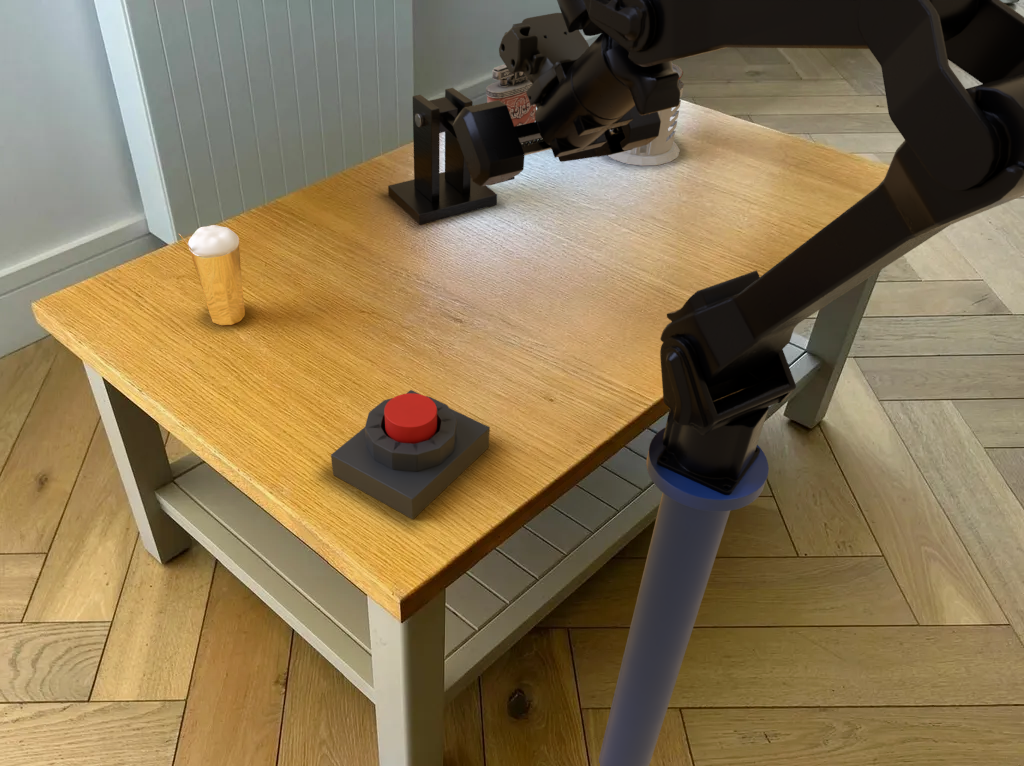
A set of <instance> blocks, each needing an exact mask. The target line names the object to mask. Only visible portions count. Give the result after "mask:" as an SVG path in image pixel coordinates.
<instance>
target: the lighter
mask: <svg viewBox="0 0 1024 766" xmlns="http://www.w3.org/2000/svg"><path fill="white" fill-rule="evenodd" d="M491 77H492V79H493V80H495V81H494V82H492V83H490V84H488V85H487V86H485V87H486V88H485V95H486V96H487V97H486V99H487V100H486V103H487V102H492V101H497V100H499V101H501V102H502V103H504V104H506V105H507V107H508V110H509V113H510V116H511V119H512V121H513V124H514V127H515V126H519V125H523V124H528V123H532V122H535V111H536V110H537V107H536V105H531V104H530V102H529V99H528V96H527V93H526V91H527V90H528V89H529V88H530V87H531V85H532V84H533V83H531V82H530V80H529V79H528V78H527V76H526V75H525V73H524V72H518V73H513V74H512V73H511V72H510V71H509V70H508V68H507V66H506V65H505V63H504V64H501V65H498V66H495V67H493V69H492V76H491ZM521 144H523V143H521Z"/></svg>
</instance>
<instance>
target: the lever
mask: <svg viewBox="0 0 1024 766" xmlns="http://www.w3.org/2000/svg"><path fill="white" fill-rule="evenodd" d="M429 101H430V102H431V103H433V104H434V105H435V106H437V107H438V108H439V134H442V133H445V132H447V131H449V132H450V133H451V134H452V135H453V136H454V137H455V138H456V139H457V136H456V134H455V131H454V128H453V123H454V121H455V119H456V117H457V115H458V108H457V107H456V106H455V105H454V104H453V103H451V102H450V101H449V100H448V99H447V98H446V97H445V96H443V97H440V98H434V99H429ZM457 140H458V139H457Z"/></svg>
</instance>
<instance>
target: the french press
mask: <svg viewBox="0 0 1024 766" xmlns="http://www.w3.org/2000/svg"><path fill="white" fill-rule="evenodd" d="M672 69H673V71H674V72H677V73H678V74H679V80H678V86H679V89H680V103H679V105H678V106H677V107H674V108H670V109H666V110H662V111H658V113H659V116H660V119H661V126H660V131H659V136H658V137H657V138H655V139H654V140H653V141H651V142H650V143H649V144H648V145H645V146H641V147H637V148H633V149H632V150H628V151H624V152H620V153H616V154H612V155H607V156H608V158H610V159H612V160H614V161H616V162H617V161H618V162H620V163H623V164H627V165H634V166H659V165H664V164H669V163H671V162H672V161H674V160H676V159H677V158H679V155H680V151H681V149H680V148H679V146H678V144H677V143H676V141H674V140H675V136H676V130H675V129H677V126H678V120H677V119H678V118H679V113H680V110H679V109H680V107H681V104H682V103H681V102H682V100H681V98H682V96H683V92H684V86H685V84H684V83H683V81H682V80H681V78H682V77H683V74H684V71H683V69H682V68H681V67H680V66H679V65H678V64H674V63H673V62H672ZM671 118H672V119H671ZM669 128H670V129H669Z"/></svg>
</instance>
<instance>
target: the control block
mask: <svg viewBox="0 0 1024 766" xmlns="http://www.w3.org/2000/svg"><path fill="white" fill-rule="evenodd" d="M408 393H414V394H420V393H419V392H417V391H415V390H412V389H410V390H408V391H407V392H406V393H405V394H408ZM425 396H426V397H428V398H430V399H431V400H432V401H433V402H434V403H435V405H436V407H437V430H436V432H435V434H434V435H433V436H432V437H431V438H430V439H428V440H426V441H423V442H419V443H416V444H411V443H400V442H397V441H395V440H393V439H392V438H390V437H389V436H388V434H387V433H386V430H385V414H384V409H385V406H386V404H387V403H388V402H389V401H390V400H391V399H392V398H393V397H390V398H388V399H387V398H386V399H384V400H382V401H381V402H380V403H379V404H377V405H376V406H375V407H373V408H372V409H371V410H370V411H369V412H368V415H367V418H366V422H365V426H364V427H362V429H361V430H359V431H358V432H357V433H355V435H353V436H352V437H351V438H349V439H348V440H347V441H345V442H344V443H343V444H342V445H341V446H340V447H338V448H337V449H336V450H335V451H334V452H332V453H331V454H330V459H331V467H332V475H333V476H334V477H336V478H338V479H340V480H341V481H343V482H345V483H347V484H349V485H350V486H352V487H353V488H355V489H357V490H359V491H361V492H363V493H364V494H366V495H368V496H370V497H371V498H373V499H375V500H377V501H379V502H381V503H382V504H385V505H386V506H387V507H390V508H392V509H393V510H395V511H396V512H398V513H400V514H402V515H404V516H406V517H407V518H409V519H411V520H414V519H415V518H416V517H417V516H418V515H419V514H421V513H422V512H423V510H425V509H426V508H427V507H428V506H429V505H430V504H431V503H432V502H433V501H434V500H435V499H437V497H438V496H439V495H440V494H442V493H443V492H444V491H445V490H446V489H447V488H448V487H449V486H450V485H451V484H452V483H453V482H454V481H455V480H456V479H457V478H458V477H459V476H461V475H462V474H463V472H464V471H465V470H467V469H468V468H469V467H470V466H471V465H472V464H473V463H474V462H475V461H476V460H477V459H478V458H479V457H481V456H482V455H483V453H485V451H487V449H488V448H489V445H490V429H491V428H490V426H488V425H486V424H484V423H482V422H479V421H477V420H475V419H473V418H471V417H469V416H467V415H466V414H463V413H460V412H458V411H457V410H455V409H453V408H450V407H449V405H447V404H446V403H443V402H441V401H439V400H437V399H436V398H433V397H431V396H428V395H425Z"/></svg>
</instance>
